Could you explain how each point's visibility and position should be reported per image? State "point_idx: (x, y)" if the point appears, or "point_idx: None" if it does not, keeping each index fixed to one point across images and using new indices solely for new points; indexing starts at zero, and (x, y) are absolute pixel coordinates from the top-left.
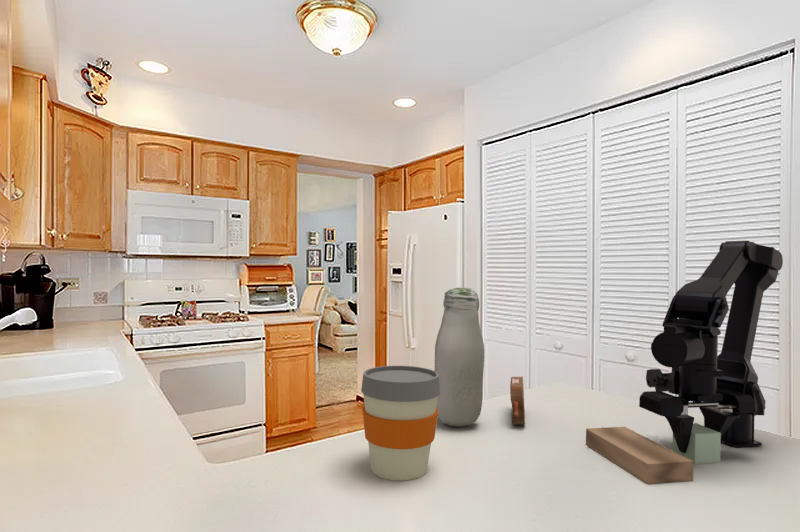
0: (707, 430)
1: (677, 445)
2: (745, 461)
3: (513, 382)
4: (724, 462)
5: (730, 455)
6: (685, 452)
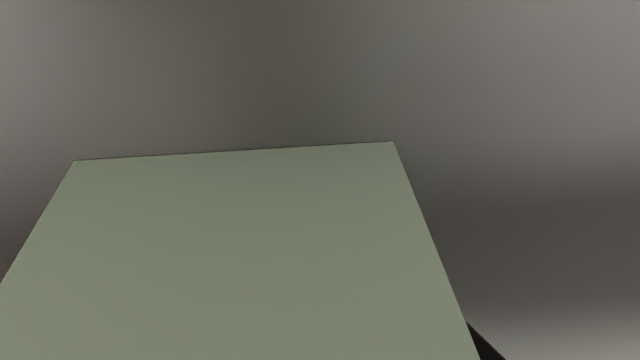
0: None
1: None
2: (610, 343)
3: None
4: None
5: (630, 246)
6: None
